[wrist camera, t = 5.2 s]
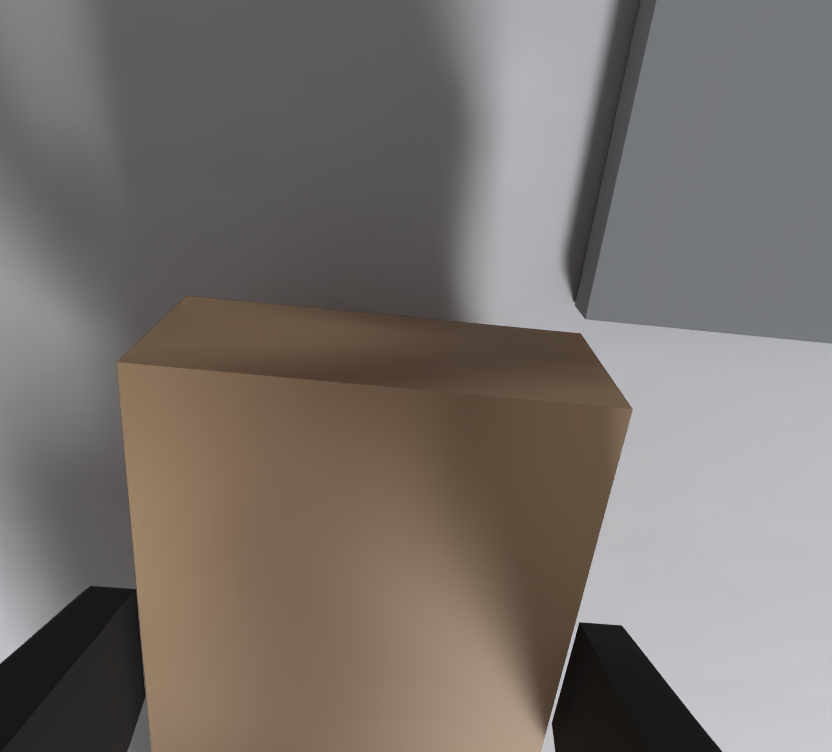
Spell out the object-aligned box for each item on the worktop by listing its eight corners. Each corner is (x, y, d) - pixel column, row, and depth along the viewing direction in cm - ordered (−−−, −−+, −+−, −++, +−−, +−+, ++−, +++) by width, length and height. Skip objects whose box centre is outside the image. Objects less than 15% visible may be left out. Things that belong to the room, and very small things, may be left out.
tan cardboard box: (580, 333, 9) (632, 409, 7) (491, 737, 13) (508, 871, 11) (187, 295, 9) (116, 362, 7) (204, 718, 13) (160, 853, 10)
